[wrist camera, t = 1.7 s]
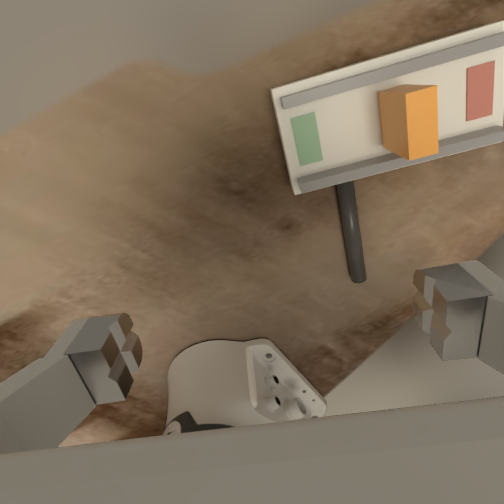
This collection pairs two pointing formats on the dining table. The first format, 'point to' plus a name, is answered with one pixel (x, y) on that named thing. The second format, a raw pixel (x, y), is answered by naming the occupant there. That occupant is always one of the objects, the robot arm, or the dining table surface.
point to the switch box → (369, 121)
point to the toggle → (410, 120)
